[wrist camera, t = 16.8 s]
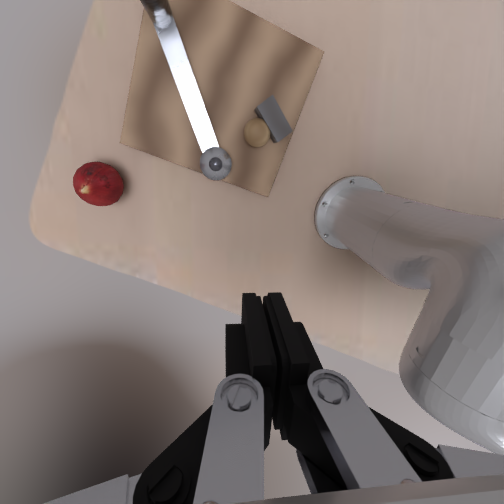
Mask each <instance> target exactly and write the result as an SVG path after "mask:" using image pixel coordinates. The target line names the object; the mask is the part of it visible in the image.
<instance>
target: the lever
mask: <svg viewBox="0 0 504 504" xmlns="http://www.w3.org/2000/svg"><path fill="white" fill-rule="evenodd" d="M140 1H141V3H142V4H143V6H144V8H145V10H146V12H147V13H148V15H149V17H150V19H151V21H152V22H153V24H154V27H155V29H156V32H157V35H158V37H159V40H160V43H161V45H162V48H163V50H164V53H165V56H166V58H167V61H168V64H169V66H170V69H171V71H172V74H173V77H174V79H175V82H176V85H177V87H178V90H179V92H180V95H181V98H182V100H183V103H184V106H185V108H186V111H187V113H188V116H189V119H190V121H191V124H192V127H193V129H194V132H195V134H196V137H197V140H198V142H199V145H200V148H201V150H202V153H203V154H202V155H201V158H200V168H201V170H202V172H203V174H204V175H205V176H206V177H208V178H209V179H212V180H221V179H224V178H225V177H226V176H227V175H228V174H229V173H230V171H231V167H232V162H231V158H230V156H229V154H228V153H227V152H226V151H225V150H224V149H222V148H219V145H218V142H217V140H216V137H215V134H214V131H213V128H212V125H211V123H210V120H209V117H208V114H207V111H206V108H205V106H204V103H203V100H202V97H201V94H200V91H199V89H198V86H197V83H196V80H195V77H194V74H193V72H192V69H191V66H190V63H189V60H188V57H187V55H186V52H185V49H184V46H183V43H182V40H181V38H180V35H179V32H178V29H177V26H176V23H175V21H174V18H173V14H172V10H171V7H170V4H169V1H168V0H140Z"/></svg>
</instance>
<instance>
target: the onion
mask: <svg viewBox="0 0 504 504" xmlns="http://www.w3.org/2000/svg"><path fill="white" fill-rule="evenodd" d="M73 186H74V189H75V192H76V193H77V194H78V196H79V197H80V198H81V199H82V200H84V201H86V202H87V203H89V204H92V205H96V206H108V205H111V204H113V203H115V202H117V201H118V200H119V198H120V196H121V195H122V194H123V188H124V185H123V181H122V178H121V176H120V175H119V173H118V172H117V171H116V170H115V169H114V168H113V167H111V166H110V165H108V164H104V163H101V162H90V163H86V164H84V165H83V166H81V167H80V168H79V169H77V171H76V173H75V175H74V177H73Z"/></svg>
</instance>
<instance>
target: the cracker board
mask: <svg viewBox="0 0 504 504" xmlns="http://www.w3.org/2000/svg"><path fill="white" fill-rule="evenodd" d="M168 1H169V4H170V7H171V10H172V14H173V18H174V21H175V23H176V26H177V29H178V32H179V35H180V38H181V40H182V43H183V46H184V49H185V52H186V55H187V57H188V60H189V63H190V66H191V69H192V72H193V74H194V77H195V80H196V83H197V86H198V89H199V91H200V94H201V97H202V100H203V103H204V106H205V108H206V111H207V114H208V117H209V120H210V123H211V125H212V128H213V131H214V134H215V137H216V140H217V142H218V145H219V148H222V149H224V150H225V151H226V152H227V153H228V154H229V156H230V158H231V162H232V167H231V171H230V173H229V174H228V175H227V176H226V177H225V178H224V179H221V180H222V181H225V182H228V183H230V184H233V185H236V186H239V187H241V188H244V189H247V190H249V191H252V192H255V193H258V194H260V195H263V196H266V197H268V196H269V193H270V190H271V188H272V185H273V183H274V180H275V178H276V175H277V172H278V170H279V167H280V165H281V162H282V160H283V157H284V154H285V152H286V149H287V147H288V144H289V141H290V139H291V136H292V134H293V131H294V129H295V126H296V123H297V121H298V118H299V116H300V113H301V111H302V108H303V105H304V103H305V100H306V98H307V95H308V93H309V90H310V87H311V85H312V82H313V80H314V77H315V75H316V72H317V69H318V67H319V64H320V62H321V59H322V56H323V54H324V51H322V50H320V49H318V48H316V47H315V46H313V45H311V44H309V43H307V42H305V41H303V40H302V39H300V38H298V37H296V36H294V35H292V34H290V33H289V32H287V31H285V30H283V29H281V28H279V27H277V26H276V25H274V24H272V23H270V22H268V21H266V20H264V19H263V18H261V17H259V16H257V15H255V14H253V13H251V12H250V11H248V10H246V9H244V8H242V7H240V6H238V5H236V4H235V3H233V2H231V1H229V0H168ZM120 143H121V144H124V145H127V146H130V147H132V148H135V149H138V150H140V151H143V152H146V153H149V154H151V155H154V156H157V157H159V158H162V159H165V160H168V161H170V162H173V163H176V164H179V165H181V166H184V167H187V168H189V169H192V170H195V171H198V172H200V173H203V172H202V170H201V168H200V158H201V155H202V154H203V153H202V150H201V148H200V145H199V142H198V140H197V137H196V134H195V132H194V129H193V127H192V124H191V121H190V119H189V116H188V113H187V111H186V108H185V106H184V103H183V100H182V98H181V95H180V92H179V90H178V87H177V85H176V82H175V79H174V77H173V74H172V71H171V69H170V66H169V64H168V61H167V58H166V56H165V53H164V50H163V48H162V45H161V43H160V40H159V37H158V35H157V32H156V29H155V27H154V24H153V22H152V21H151V19H150V17H149V15H148V13H147V12H146V10H145V8H144V11H143V16H142V22H141V27H140V33H139V39H138V44H137V50H136V55H135V61H134V66H133V72H132V78H131V83H130V89H129V94H128V100H127V106H126V111H125V117H124V122H123V128H122V134H121V139H120Z"/></svg>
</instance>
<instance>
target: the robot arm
mask: <svg viewBox="0 0 504 504" xmlns="http://www.w3.org/2000/svg"><path fill="white" fill-rule="evenodd" d="M350 180H351V182H350ZM323 202H324V204H323V205H322V203H323ZM315 226H316V229H317V231H318V233H319V235H320V237H321V238H322V239H323V240H324V241H325V242H326V243H327V244H329V245H331V246H332V247H335V248H338V249H350V250H351V251H352V252H354V253H355V254H356V255H357V256H359V257H360V258H361V259H363V260H364V261H365V262H366V263H368V264H369V265H370V266H371V267H373V268H374V269H375V270H377V271H378V272H379V273H380V274H382V275H383V276H384V277H386V278H387V279H388V280H390V281H391V282H393V283H395V284H397V285H399V286H402V287H405V288H410V289H430V290H429V293H428V296H427V298H426V300H425V302H424V304H423V308H422V310H421V312H420V315H419V317H418V319H417V321H416V323H415V325H414V327H413V329H412V331H411V333H410V336H409V338H408V340H407V343H406V345H405V347H404V349H403V352H402V355H401V357H400V362H399V373H400V378H401V381H402V383H403V385H404V387H405V389H406V390H407V392H408V393H409V395H410V396H411V397H412V398H413V399H414V401H415V402H416V403H417V404H418V405H419V406H420V407H421V408H422V409H423V410H425V411H426V412H427V413H429V415H431V416H432V417H433V418H435V419H436V420H437V421H439V422H440V423H442V424H443V425H445V426H446V427H448V428H449V429H451V430H453V431H454V432H456V433H458V434H459V435H461V436H463V437H465V438H467V439H468V440H471V441H472V442H474V443H476V444H478V445H480V446H482V447H484V448H486V449H488V450H490V451H492V452H493V453H487V452H481V451H475V450H469V449H462V448H457V447H451V446H445V445H438V447H437V448H434V447H433V446H432V445H431V444H429V443H428V442H426V441H425V440H424V439H422V438H420V437H419V436H417V435H415V434H413V433H412V432H410V431H408V430H407V429H405V428H403V427H402V426H400V425H398V424H396V423H395V422H393V421H391V420H390V419H388V418H386V417H385V416H383V415H381V414H380V413H378V412H376V411H375V410H373V409H371V408H369V407H368V406H367V405H366V403H365V402H364V400H363V399H362V398H361V396H360V395H359V394H358V392H357V391H356V389H355V388H354V387H353V385H352V384H351V383H350V382H349V380H347V378H345V377H344V376H343V375H341V374H340V373H338V372H335V371H333V370H328V369H323V367H322V365H321V363H320V361H319V358H318V356H317V354H316V352H315V350H314V348H313V345H312V343H311V341H310V339H309V337H308V334H307V332H306V330H305V328H304V326H303V324H302V323H301V322H293V320H292V318H291V315H290V313H289V311H288V308H287V306H286V303H285V301H284V298H283V296H282V294H281V293H280V292H279V293H268V296H264V297H263V305H262V301H261V297H260V296H256V294H255V293H243V295H242V321H241V322H242V323H241V324H226V378H225V379H223V380H222V381H221V382H220V384H219V385H218V387H217V389H216V392H215V397H214V402H213V405H211V406H210V407H209V408H208V409H207V410H206V411H205V412H204V413H203V414H202V415H201V416H200V417H199V418H198V419H197V420H196V421H195V422H194V423H193V424H192V425H191V426H189V428H187V429H186V430H185V431H184V432H183V433H182V434H181V435H180V436H179V437H178V438H177V439H176V440H175V441H174V442H173V443H172V444H171V445H170V446H168V448H166V449H165V450H164V451H163V452H162V453H161V454H160V455H159V456H158V457H157V458H156V459H155V460H154V461H153V462H152V463H151V464H150V465H149V466H148V467H147V468H146V469H145V471H144V472H143V473H142V474H139V475H137V476H134V477H131V478H128V475H124V476H121V477H119V478H115V479H113V480H110V481H107V482H104V483H101V484H98V485H95V486H92V487H90V488H87V489H84V490H81V491H78V492H75V493H72V494H70V495H67V496H64V497H61V498H58V499H55V500H52V501H49V502H46V503H44V504H504V219H500V218H491V217H485V216H478V215H471V214H467V213H462V212H457V211H453V210H448V209H444V208H440V207H437V206H433V205H428V204H424V203H420V202H417V201H413V200H409V199H405V198H402V197H398V196H394V195H390V194H387V193H385V192H384V190H383V189H382V187H381V186H380V185H379V184H378V183H377V182H376V181H374V180H372V179H370V178H367V177H362V176H350V177H346V178H343V179H341V180H338V181H337V182H335V183H334V184H332V185H331V186H330V187H329V188H328V189H327V190H326V191H325V192H324V193H323V195H322V196H321V198H320V199H319V201H318V203H317V207H316V210H315ZM324 234H325V235H324ZM272 419H273V425H274V429H275V430H277V429H280V434H281V439H282V440H288V442H289V443H290V444H291V445H292V446H294V447H295V448H296V453H297V457H298V460H299V463H300V466H301V468H302V471H303V474H304V476H305V479H306V481H307V484H308V487H309V489H310V492H311V494H308V495H300V496H291V497H282V498H274V499H266V500H264V451H265V449H266V448H267V446H268V445H269V439H270V430H271V422H272ZM494 453H495V454H494Z"/></svg>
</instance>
